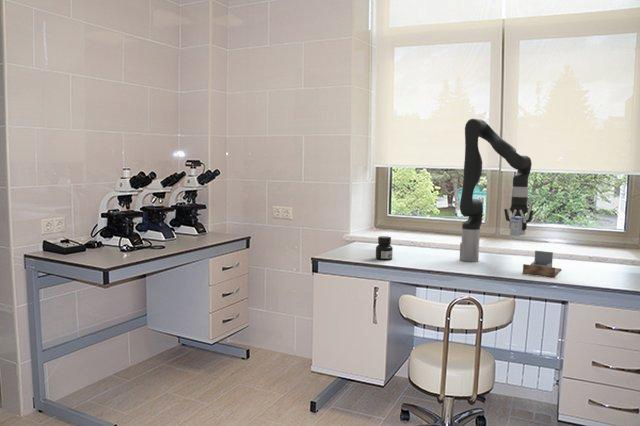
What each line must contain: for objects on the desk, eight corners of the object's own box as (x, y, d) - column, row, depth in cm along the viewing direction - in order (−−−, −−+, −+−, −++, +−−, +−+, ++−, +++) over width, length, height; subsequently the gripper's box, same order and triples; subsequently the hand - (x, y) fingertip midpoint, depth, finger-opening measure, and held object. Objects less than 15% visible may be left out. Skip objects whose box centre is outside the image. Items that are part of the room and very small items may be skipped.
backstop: (522, 273, 252) (523, 264, 252) (531, 266, 272) (532, 257, 271) (554, 277, 245) (554, 268, 244) (561, 269, 264) (561, 260, 264)
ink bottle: (383, 261, 278) (384, 238, 276) (371, 258, 284) (372, 236, 283) (396, 259, 284) (396, 237, 283) (383, 257, 291) (384, 235, 289)
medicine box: (516, 233, 267) (517, 216, 266) (525, 234, 264) (526, 217, 263) (509, 235, 261) (510, 217, 260) (518, 236, 258) (519, 218, 257)
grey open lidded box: (529, 272, 252) (530, 253, 251) (534, 268, 262) (535, 250, 261) (547, 274, 247) (549, 255, 247) (551, 270, 258) (552, 252, 257)
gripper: (502, 195, 261) (501, 229, 263) (533, 196, 254) (531, 232, 255) (506, 195, 268) (504, 228, 269) (536, 196, 260) (534, 230, 262)
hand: (517, 229), depth 262 cm, fingers closed on medicine box, 5 cm apart
